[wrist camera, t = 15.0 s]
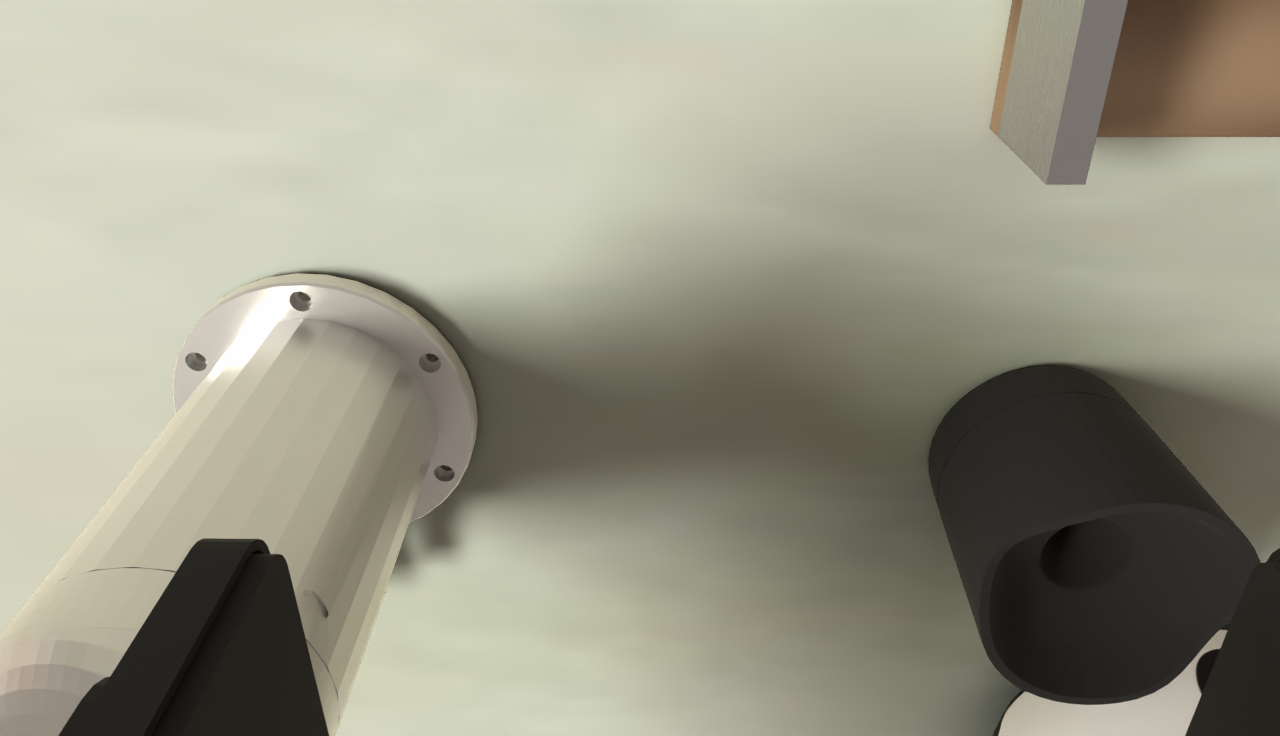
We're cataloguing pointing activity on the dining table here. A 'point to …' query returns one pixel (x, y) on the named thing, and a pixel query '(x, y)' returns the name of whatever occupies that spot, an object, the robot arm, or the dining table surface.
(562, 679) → the dining table surface
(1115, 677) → the pen holder
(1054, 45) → the metal walls
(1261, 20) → the walnut board
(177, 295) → the dining table surface
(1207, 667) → the milk container
